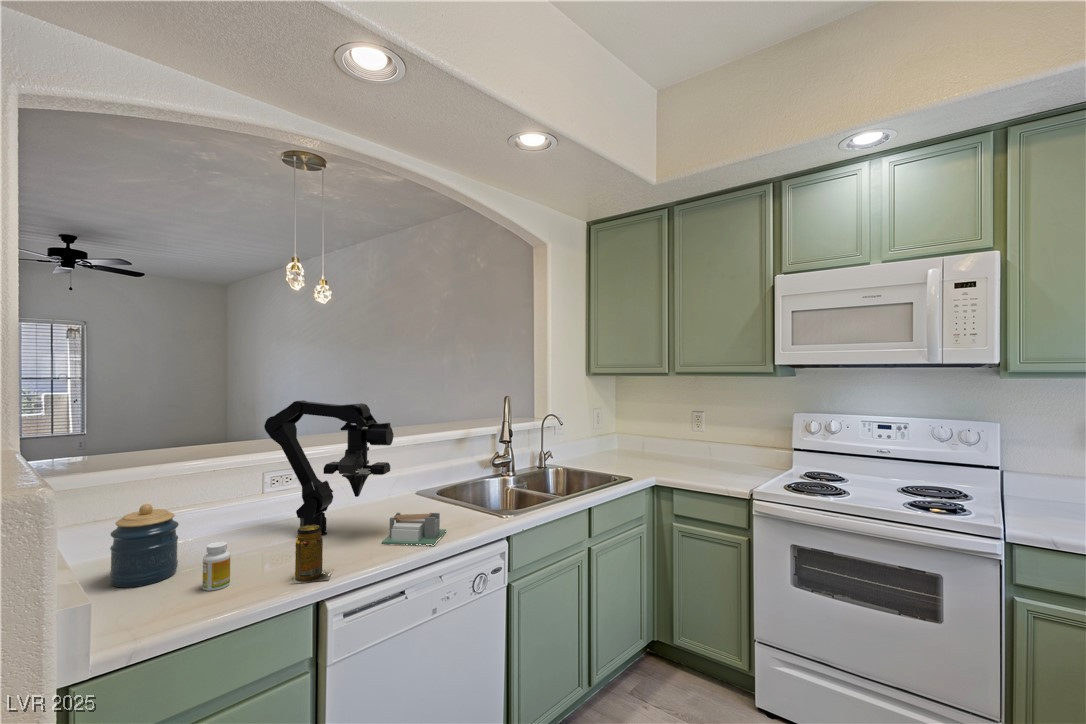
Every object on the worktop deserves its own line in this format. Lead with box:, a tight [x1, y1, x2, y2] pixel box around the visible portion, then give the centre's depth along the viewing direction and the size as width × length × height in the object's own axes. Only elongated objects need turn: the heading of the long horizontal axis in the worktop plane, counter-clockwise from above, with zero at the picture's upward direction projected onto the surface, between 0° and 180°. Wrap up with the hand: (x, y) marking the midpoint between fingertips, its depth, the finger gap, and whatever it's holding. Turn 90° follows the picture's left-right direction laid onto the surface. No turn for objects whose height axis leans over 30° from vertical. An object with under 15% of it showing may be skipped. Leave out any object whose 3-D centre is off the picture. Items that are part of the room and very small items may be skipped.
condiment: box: [289, 525, 334, 585], centre depth 123 cm, size 7×8×12 cm
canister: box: [109, 503, 180, 588], centre depth 122 cm, size 13×13×18 cm
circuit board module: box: [381, 512, 447, 546], centre depth 151 cm, size 16×13×7 cm
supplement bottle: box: [202, 541, 231, 592], centre depth 117 cm, size 5×5×10 cm
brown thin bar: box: [393, 513, 432, 521], centre depth 151 cm, size 1×3×12 cm
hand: (357, 496), depth 153 cm, fingers closed
